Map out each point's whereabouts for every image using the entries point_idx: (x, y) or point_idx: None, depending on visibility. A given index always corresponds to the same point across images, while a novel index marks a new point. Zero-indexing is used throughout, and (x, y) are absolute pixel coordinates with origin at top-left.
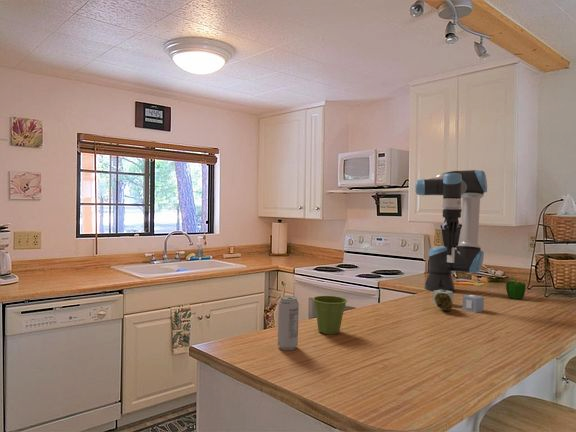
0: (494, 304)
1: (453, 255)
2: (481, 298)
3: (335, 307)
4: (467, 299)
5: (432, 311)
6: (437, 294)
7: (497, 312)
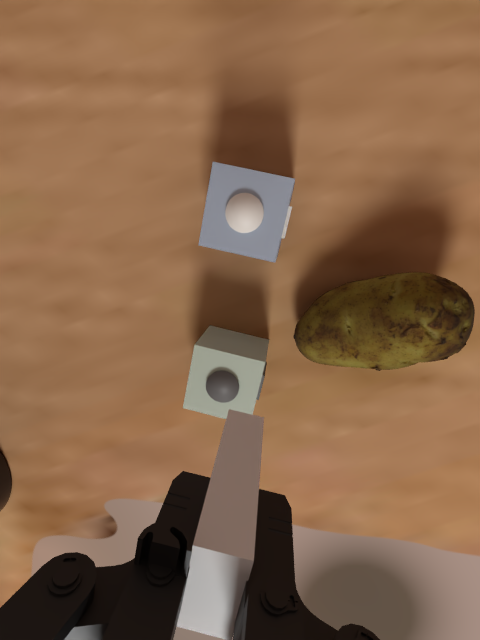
0: (44, 185)
1: (238, 462)
2: (238, 167)
3: None
4: (282, 233)
5: None
6: (450, 350)
7: (208, 107)
